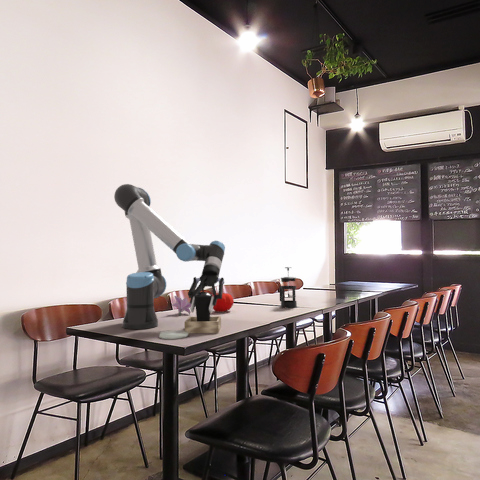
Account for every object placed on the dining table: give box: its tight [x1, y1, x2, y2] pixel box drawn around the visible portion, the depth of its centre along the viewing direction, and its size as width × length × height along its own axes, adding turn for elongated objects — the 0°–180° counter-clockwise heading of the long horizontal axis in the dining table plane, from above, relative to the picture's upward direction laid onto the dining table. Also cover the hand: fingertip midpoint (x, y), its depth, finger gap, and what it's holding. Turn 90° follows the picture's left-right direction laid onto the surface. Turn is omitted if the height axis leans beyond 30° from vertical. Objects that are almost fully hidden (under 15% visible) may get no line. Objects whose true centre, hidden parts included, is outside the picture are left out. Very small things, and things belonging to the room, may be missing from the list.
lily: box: [171, 295, 192, 316], centre depth 216 cm, size 12×12×10 cm
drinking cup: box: [194, 280, 213, 321], centre depth 172 cm, size 8×8×20 cm
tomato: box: [212, 292, 235, 313], centre depth 224 cm, size 13×12×11 cm
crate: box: [184, 315, 222, 334], centre depth 172 cm, size 14×14×4 cm
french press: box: [279, 266, 298, 309], centre depth 240 cm, size 12×9×23 cm
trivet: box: [158, 329, 189, 340], centre depth 160 cm, size 11×11×1 cm
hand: (201, 310), depth 169 cm, fingers closed on drinking cup, 7 cm apart
